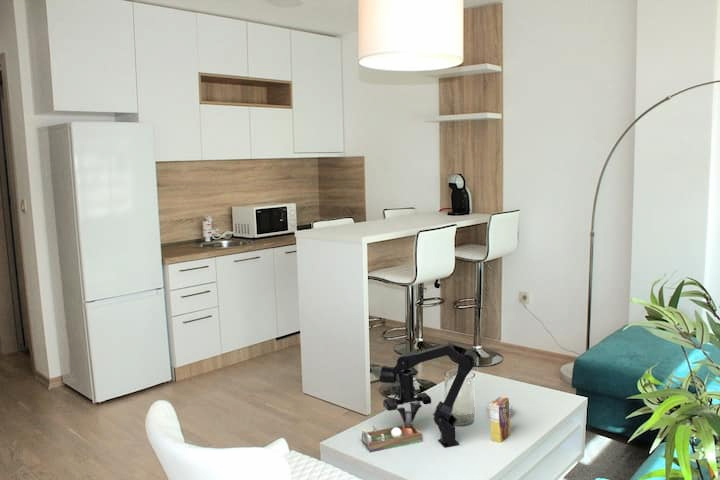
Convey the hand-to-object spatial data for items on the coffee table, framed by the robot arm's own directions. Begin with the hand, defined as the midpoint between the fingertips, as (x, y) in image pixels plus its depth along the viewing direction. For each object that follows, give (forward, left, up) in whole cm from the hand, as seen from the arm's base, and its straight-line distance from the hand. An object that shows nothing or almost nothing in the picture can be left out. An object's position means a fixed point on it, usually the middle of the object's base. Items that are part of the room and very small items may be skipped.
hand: (408, 421), depth 243 cm
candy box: (-14, -34, -7) cm, 37 cm away
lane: (0, +7, -7) cm, 10 cm away
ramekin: (+4, -44, -7) cm, 45 cm away
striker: (0, 0, -6) cm, 6 cm away
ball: (0, +5, -4) cm, 6 cm away
